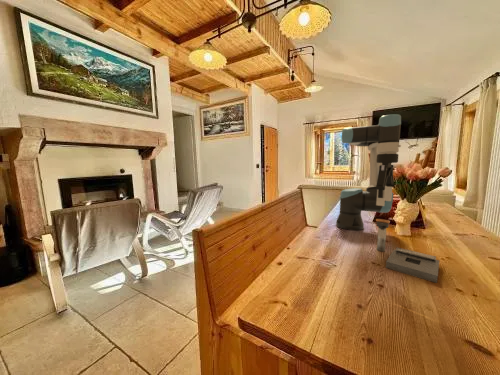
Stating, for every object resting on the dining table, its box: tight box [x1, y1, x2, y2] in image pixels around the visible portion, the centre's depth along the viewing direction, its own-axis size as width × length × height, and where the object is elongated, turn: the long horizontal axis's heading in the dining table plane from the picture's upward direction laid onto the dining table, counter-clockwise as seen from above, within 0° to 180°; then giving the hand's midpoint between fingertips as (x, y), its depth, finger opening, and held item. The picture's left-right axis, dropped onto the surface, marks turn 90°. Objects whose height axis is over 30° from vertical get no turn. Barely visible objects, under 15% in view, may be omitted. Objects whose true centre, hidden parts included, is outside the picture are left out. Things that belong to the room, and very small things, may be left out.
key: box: [375, 218, 391, 253], centre depth 88 cm, size 5×4×14 cm
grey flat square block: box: [385, 246, 440, 284], centre depth 74 cm, size 14×14×4 cm
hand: (384, 203), depth 87 cm, fingers open, 13 cm apart
